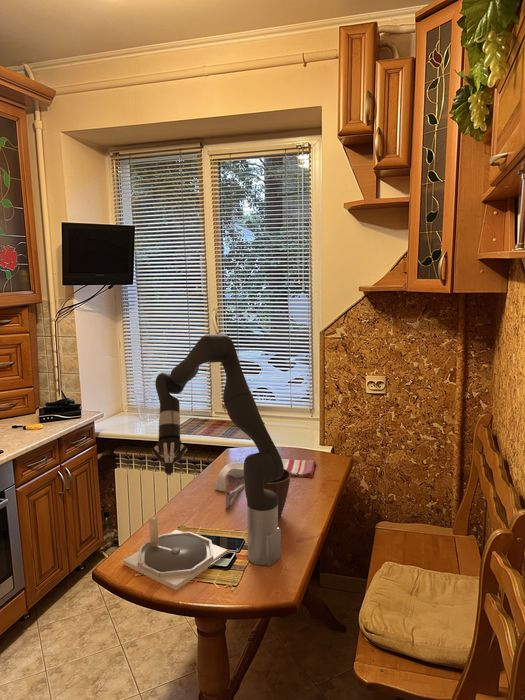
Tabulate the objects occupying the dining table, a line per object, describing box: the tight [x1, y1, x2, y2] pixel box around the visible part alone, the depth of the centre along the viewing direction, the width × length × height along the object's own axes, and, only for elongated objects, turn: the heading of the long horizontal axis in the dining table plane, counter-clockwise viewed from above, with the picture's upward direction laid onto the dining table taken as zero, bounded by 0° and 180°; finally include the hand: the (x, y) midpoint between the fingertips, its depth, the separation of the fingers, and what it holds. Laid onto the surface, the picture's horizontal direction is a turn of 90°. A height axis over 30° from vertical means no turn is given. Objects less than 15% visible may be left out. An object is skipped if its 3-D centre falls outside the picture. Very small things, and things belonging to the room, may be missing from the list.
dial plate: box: [122, 529, 228, 591], centre depth 157 cm, size 22×22×3 cm
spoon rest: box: [214, 462, 244, 492], centre depth 215 cm, size 24×12×7 cm, turn 158°
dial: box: [145, 515, 207, 572], centre depth 156 cm, size 19×19×10 cm
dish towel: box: [281, 458, 316, 478], centre depth 226 cm, size 17×23×3 cm
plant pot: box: [264, 469, 291, 521], centre depth 181 cm, size 15×15×16 cm
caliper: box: [225, 484, 245, 509], centre depth 199 cm, size 20×1×6 cm, turn 165°
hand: (169, 474), depth 176 cm, fingers closed
